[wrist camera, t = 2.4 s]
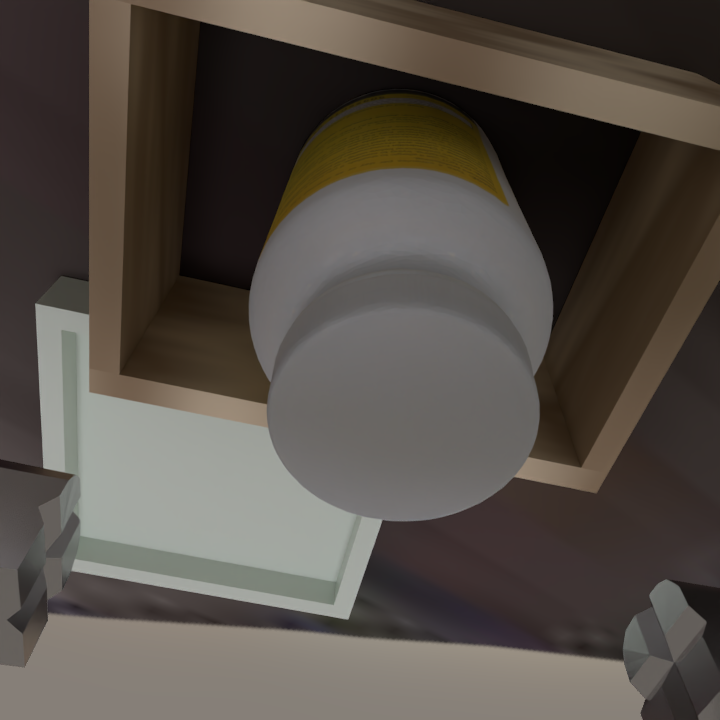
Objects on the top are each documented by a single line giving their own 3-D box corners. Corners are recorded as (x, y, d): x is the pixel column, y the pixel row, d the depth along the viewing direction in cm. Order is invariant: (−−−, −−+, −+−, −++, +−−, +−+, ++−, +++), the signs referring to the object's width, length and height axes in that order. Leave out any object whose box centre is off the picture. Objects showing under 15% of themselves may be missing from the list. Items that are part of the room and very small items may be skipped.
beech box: (696, 73, 19) (807, 129, 14) (555, 376, 25) (596, 493, 20) (176, -62, 18) (89, -54, 13) (154, 290, 23) (89, 391, 18)
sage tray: (426, 353, 24) (428, 385, 23) (350, 582, 31) (347, 619, 30) (61, 275, 23) (35, 303, 22) (67, 531, 30) (48, 566, 29)
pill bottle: (262, 122, 20) (139, 312, 10) (476, 52, 19) (564, 193, 9) (332, 306, 23) (290, 580, 14) (518, 257, 22) (617, 521, 12)
